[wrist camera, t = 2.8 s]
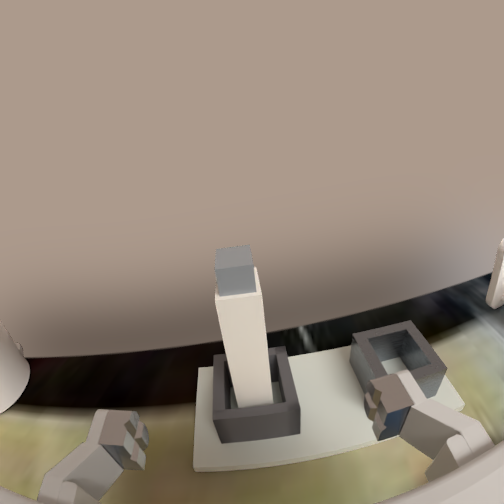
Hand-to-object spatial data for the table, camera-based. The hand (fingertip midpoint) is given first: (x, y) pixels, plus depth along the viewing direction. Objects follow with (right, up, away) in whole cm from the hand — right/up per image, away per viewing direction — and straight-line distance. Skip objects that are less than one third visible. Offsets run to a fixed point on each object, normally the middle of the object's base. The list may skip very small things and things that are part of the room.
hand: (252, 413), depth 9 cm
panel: (+7, -9, +18) cm, 22 cm away
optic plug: (0, -9, +17) cm, 20 cm away
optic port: (+14, -8, +18) cm, 24 cm away
